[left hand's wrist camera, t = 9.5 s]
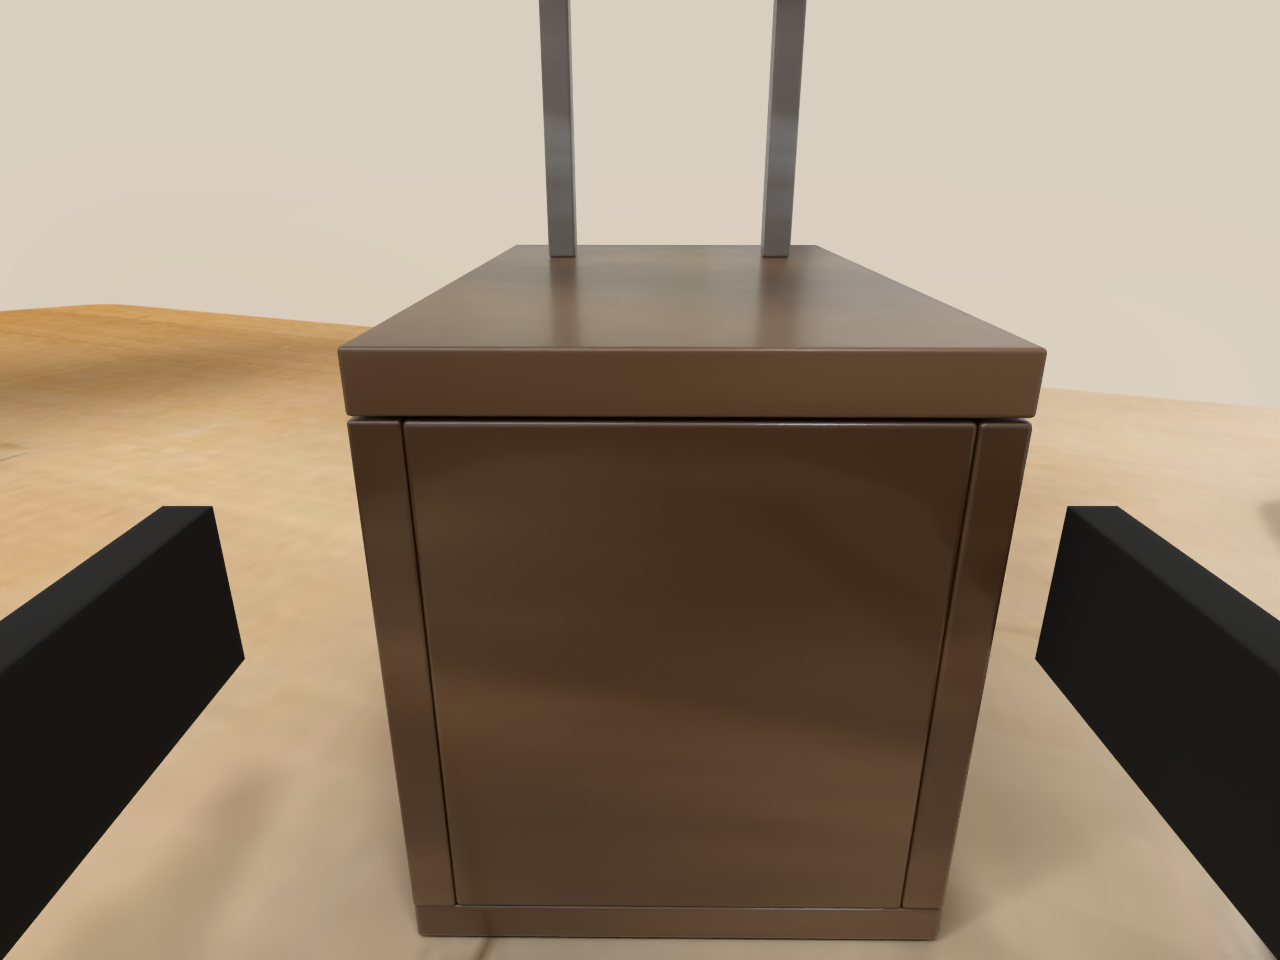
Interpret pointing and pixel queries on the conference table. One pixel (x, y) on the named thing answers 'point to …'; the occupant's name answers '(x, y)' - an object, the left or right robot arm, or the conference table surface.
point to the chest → (684, 665)
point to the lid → (684, 313)
